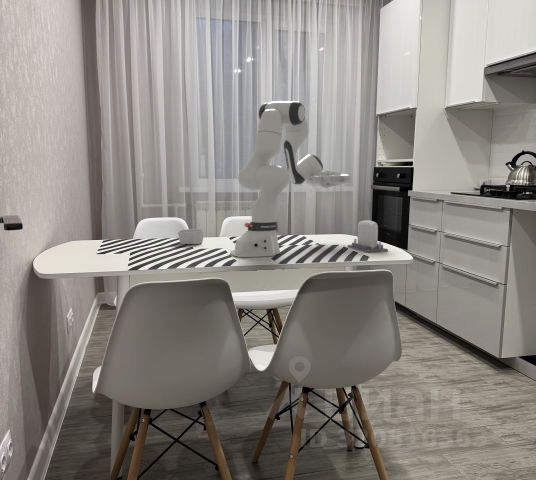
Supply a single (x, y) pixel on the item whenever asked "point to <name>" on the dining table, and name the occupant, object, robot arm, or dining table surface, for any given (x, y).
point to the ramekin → (191, 236)
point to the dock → (366, 248)
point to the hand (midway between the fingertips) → (338, 179)
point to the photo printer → (368, 233)
